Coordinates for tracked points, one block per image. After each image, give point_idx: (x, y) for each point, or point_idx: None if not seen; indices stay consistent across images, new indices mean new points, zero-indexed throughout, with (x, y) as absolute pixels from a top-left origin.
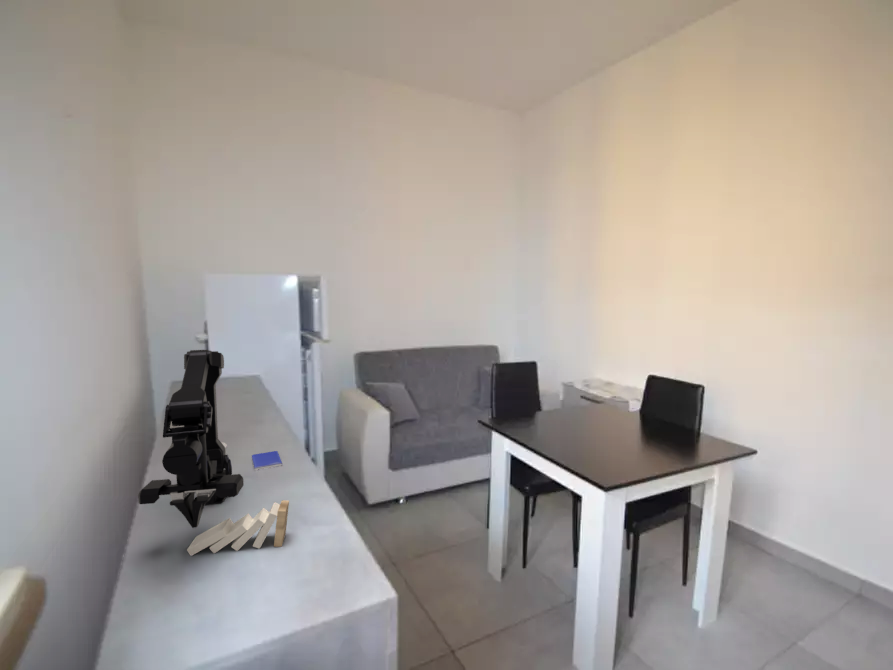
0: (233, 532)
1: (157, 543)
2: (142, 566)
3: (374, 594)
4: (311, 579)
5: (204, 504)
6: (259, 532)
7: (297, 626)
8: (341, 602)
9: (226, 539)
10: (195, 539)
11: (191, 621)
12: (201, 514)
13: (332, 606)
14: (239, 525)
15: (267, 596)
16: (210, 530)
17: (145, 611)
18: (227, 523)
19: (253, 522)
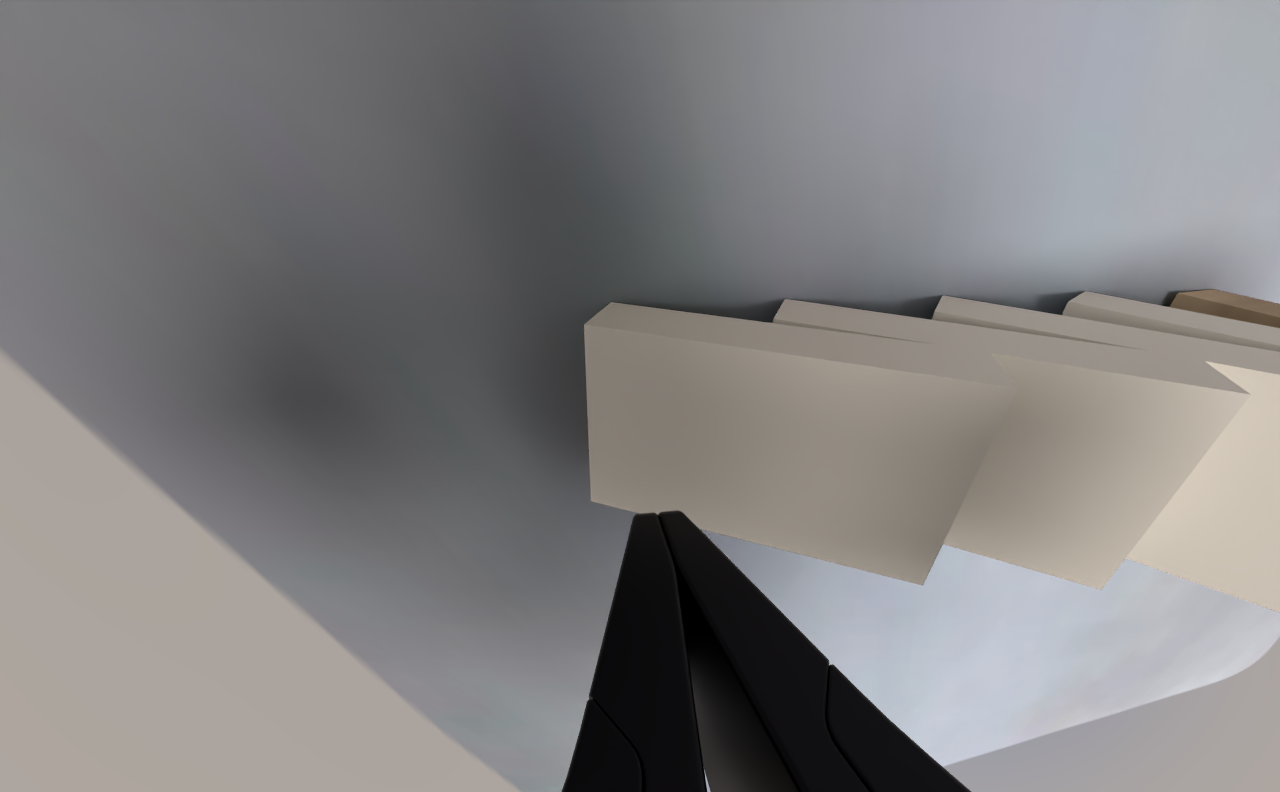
0: (978, 546)
1: (160, 247)
2: (330, 541)
3: (1227, 667)
4: (1121, 624)
5: (921, 782)
6: None
7: (1009, 744)
8: (1139, 690)
9: None
10: (609, 395)
11: None
12: (767, 607)
13: (1112, 700)
14: (1067, 544)
15: (968, 683)
16: (759, 406)
17: None
18: (969, 476)
19: (1189, 524)
